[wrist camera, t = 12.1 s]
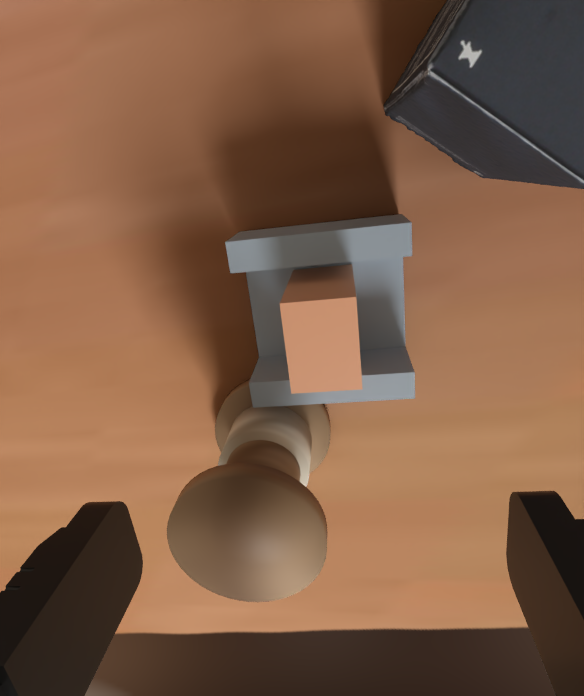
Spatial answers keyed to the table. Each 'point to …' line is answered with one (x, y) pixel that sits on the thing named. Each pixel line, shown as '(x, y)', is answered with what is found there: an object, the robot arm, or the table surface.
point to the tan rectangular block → (321, 330)
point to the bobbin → (255, 503)
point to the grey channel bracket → (371, 293)
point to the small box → (501, 89)
